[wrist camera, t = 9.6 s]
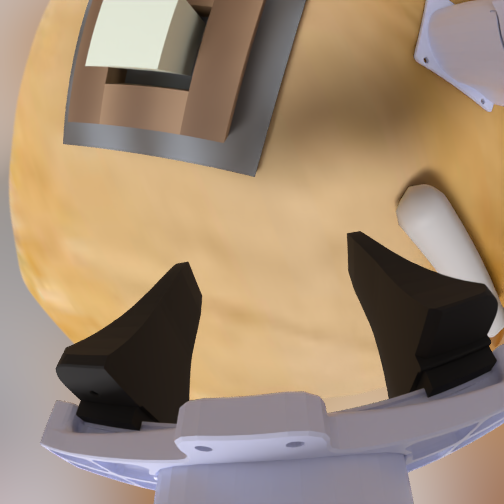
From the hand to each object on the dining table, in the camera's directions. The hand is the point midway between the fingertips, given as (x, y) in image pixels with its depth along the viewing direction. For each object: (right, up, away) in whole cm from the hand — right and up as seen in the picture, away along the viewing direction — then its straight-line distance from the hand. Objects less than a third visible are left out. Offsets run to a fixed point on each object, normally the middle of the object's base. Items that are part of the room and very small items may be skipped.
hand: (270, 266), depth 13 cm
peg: (-6, +14, +2) cm, 16 cm away
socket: (-6, +15, +3) cm, 16 cm away
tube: (+21, 0, +13) cm, 25 cm away
